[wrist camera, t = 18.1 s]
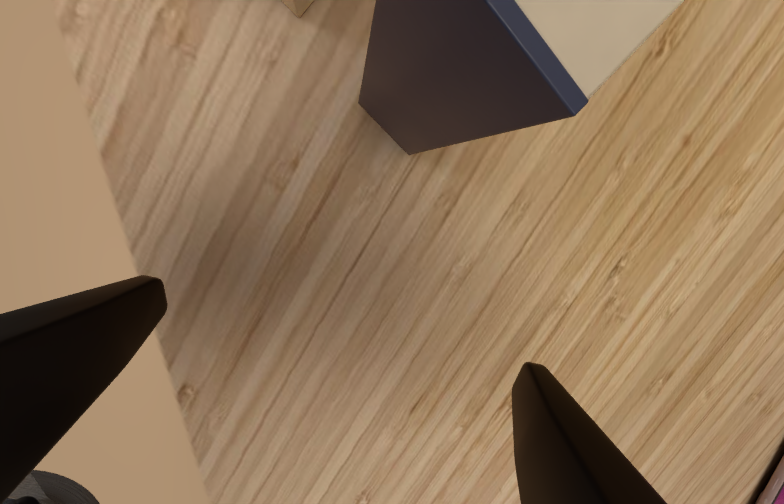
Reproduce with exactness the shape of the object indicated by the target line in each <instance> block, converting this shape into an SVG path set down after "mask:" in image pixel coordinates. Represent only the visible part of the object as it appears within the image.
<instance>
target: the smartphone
mask: <svg viewBox="0 0 784 504" xmlns="http://www.w3.org/2000/svg"><path fill="white" fill-rule="evenodd" d="M755 504H784V455H783V457H782V459H781V461H780V462H779V464H778V466H777V468H776V470H775V471H774V473H773V475H772V477H771V479H770V480H769V482H768V484H767V486H766V488H765V490H764V491H763V492H761V494H760V496H759V497H758V499H757V501H756V503H755Z"/></svg>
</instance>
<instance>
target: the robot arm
mask: <svg viewBox="0 0 784 504" xmlns="http://www.w3.org/2000/svg"><path fill="white" fill-rule="evenodd" d="M166 311H167V299H166V294H165V289H164V284H163V282H162V281H161V279H159V278H155V277H151V276H146V275H141V276H137V277H134V278H130V279H127V280H123V281H119V282H116V283H112V284H108V285H105V286H101V287H98V288H94V289H90V290H86V291H83V292H79V293H76V294H72V295H68V296H65V297H61V298H57V299H54V300H50V301H47V302H43V303H39V304H36V305H32V306H28V307H25V308H21V309H17V310H14V311H10V312H6V313H3V314H0V504H40V503H39V501H38V500H37V499H36V498H34V497H32V496H24V497H21V498H18V499H14V500H11V501H8V502H5V503H3V502H4V501H5V500H6V499H7V498H8V497H9V496H10V494H11V493H12V492H13V491H14V490H15V489H16V488H17V487H18V486H19V484H20V483H21V482H22V481H23V480H24V479H25V478H26V477H27V476H28V474H29V473H30V472H31V471H32V470H33V469H34V468H35V467H36V466H37V464H38V463H39V462H40V461H41V460H42V459H43V458H44V456H46V455H47V453H48V452H49V451H50V450H51V449H52V448H53V446H55V444H56V443H57V442H58V441H59V440H60V439H61V438H62V437H63V436H64V435H65V433H66V432H67V431H68V430H69V429H70V428H71V427H72V426H73V425H74V423H75V422H76V421H77V420H78V419H79V418H80V416H81V415H83V413H84V412H85V411H86V410H87V409H88V408H89V407H90V406H91V405H92V403H93V402H94V401H95V400H96V399H97V398H98V397H99V396H100V394H101V393H102V392H103V391H104V390H105V389H106V388H107V387H108V386H109V385H110V384H111V382H112V381H113V380H114V379H115V378H116V377H117V376H118V374H119V373H120V372H121V371H122V370H123V369H124V368H125V366H126V365H127V364H128V363H129V361H130V360H131V359H132V358H133V356H134V355H135V353H136V352H137V351H138V349H139V348H140V347H141V346H142V344H143V343H144V341H145V340H146V339H147V337H148V336H149V335H150V333H151V332H152V331H153V329H154V328H155V327H156V325H157V324H158V323H159V321H160V320H161V319H162V317H163V316H164V315H165V313H166ZM512 415H513V438H514V457H515V466H516V474H517V481H518V487H519V494H520V500H521V504H667V503H666V502H665V501H664V500H663V498H662V497H661V496H660V495H659V494H658V493H657V492H656V491H655V489H654V488H653V487H652V486H651V485H650V484H649V483H648V482H647V480H646V479H645V478H644V477H643V476H642V475H641V474H640V473H639V471H638V470H637V469H636V468H635V467H634V466H633V465H632V464H631V462H630V461H629V460H628V459H627V458H626V457H625V456H624V455H623V454H622V452H621V451H620V450H619V449H618V448H617V447H616V446H615V445H614V443H613V442H612V441H611V440H610V439H609V438H608V437H607V436H606V434H605V433H604V432H603V431H602V430H601V429H600V428H599V427H598V425H597V424H596V423H595V422H594V421H593V420H592V419H591V418H590V416H589V415H588V414H587V413H586V412H585V411H584V410H583V409H582V407H581V406H580V405H579V404H578V403H577V402H576V401H575V400H574V398H573V397H572V396H571V395H570V394H569V393H568V392H567V391H566V389H565V388H564V387H563V386H562V385H561V384H560V383H559V382H558V380H557V379H556V378H555V377H554V376H553V375H552V374H551V373H550V371H549V370H548V369H547V368H546V367H545V366H543V365H540V364H536V363H532V362H526V363H524V364H523V366H522V368H521V370H520V372H519V374H518V376H517V378H516V380H515V382H514V384H513V387H512Z"/></svg>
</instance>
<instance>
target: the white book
mask: <svg viewBox="0 0 784 504" xmlns="http://www.w3.org/2000/svg"><path fill="white" fill-rule="evenodd" d="M683 1H684V0H376V3H375V9H374V15H373V21H372V27H371V32H370V38H369V44H368V50H367V56H366V61H365V67H364V73H363V79H362V85H361V90H360V96H359V102H358V103H359V104H360V105H361V106H362V107H363V108H364V109H365V110H366V111H367V112H368V113H369V114H370V116H371V117H372V118H373V119H374V120H375V121H376V122H377V123H378V124H379V125H380V126H381V127H382V128H383V129H384V130H385V131H386V132H387V133H388V134H389V135H390V136H391V137H392V138H393V139H394V140H395V141H396V142H397V143H398V144H399V145H400V146H401V147H402V148H403V149H404V151H405V152H406V153H407V154H408V155H411V154H415V153H419V152H424V151H428V150H432V149H436V148H441V147H445V146H449V145H453V144H458V143H462V142H466V141H471V140H475V139H479V138H483V137H488V136H492V135H496V134H501V133H505V132H509V131H513V130H518V129H522V128H526V127H531V126H535V125H539V124H543V123H548V122H552V121H556V120H561V119H565V118H569V117H573V116H575V115H576V114H577V113H578V112H579V111H580V110H581V109H582V108H583V107H584V106H585V105H586V104H587V103H588V100H589V99H590V98H591V97H592V96H593V95H594V93H595V92H596V91H597V90H598V89H599V88H600V87H601V86H602V85H603V84H604V83H605V82H606V81H607V80H608V79H609V78H610V77H611V76H612V75H613V74H614V73H615V72H616V71H617V70H618V69H619V68H620V67H621V66H622V65H623V63H624V62H625V61H626V60H627V59H628V58H629V57H630V56H631V55H632V54H633V53H634V52H635V51H636V50H637V49H638V48H639V47H640V46H641V45H642V44H643V43H644V42H645V41H646V40H647V39H648V38H649V37H650V36H651V35H652V34H653V32H654V31H655V30H656V29H657V28H658V27H659V26H660V25H661V24H662V23H663V22H664V21H665V20H666V19H667V18H668V17H669V16H670V15H671V14H672V13H673V12H674V11H675V10H676V9H677V8H678V7H679V6H680V5H681V4H682V3H683Z"/></svg>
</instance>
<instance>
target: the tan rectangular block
mask: <svg viewBox="0 0 784 504" xmlns="http://www.w3.org/2000/svg"><path fill="white" fill-rule="evenodd" d="M281 1H282V2H283V3H284V4H285V5H286V6H287V7H288V8H289V9H290V10H291V11H292V12H293V13H294V14H295V15H296V16H297V17H301V15H302V14H303V13H304V12H305V10H306V9H307V8H308V7H309V5H310V4H311V3H312V2H313V1H314V0H281Z"/></svg>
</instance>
